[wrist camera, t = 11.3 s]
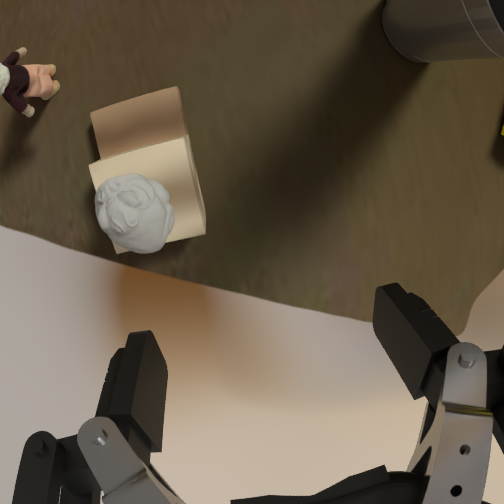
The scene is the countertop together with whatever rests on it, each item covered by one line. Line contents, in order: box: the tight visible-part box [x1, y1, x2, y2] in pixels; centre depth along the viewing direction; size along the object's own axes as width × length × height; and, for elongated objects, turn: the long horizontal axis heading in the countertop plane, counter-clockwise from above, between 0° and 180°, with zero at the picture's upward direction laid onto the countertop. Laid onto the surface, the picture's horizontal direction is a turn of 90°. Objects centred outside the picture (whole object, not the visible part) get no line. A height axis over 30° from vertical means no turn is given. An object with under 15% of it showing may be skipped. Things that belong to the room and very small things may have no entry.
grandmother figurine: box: [0, 48, 60, 117], centre depth 19 cm, size 8×4×13 cm, turn 22°
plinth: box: [89, 86, 206, 254], centre depth 28 cm, size 14×9×6 cm, turn 10°
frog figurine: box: [95, 174, 175, 254], centre depth 23 cm, size 6×7×7 cm
